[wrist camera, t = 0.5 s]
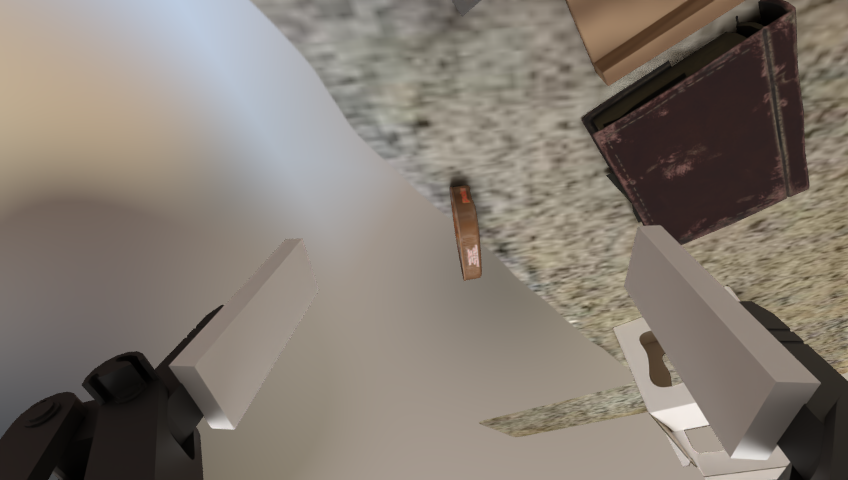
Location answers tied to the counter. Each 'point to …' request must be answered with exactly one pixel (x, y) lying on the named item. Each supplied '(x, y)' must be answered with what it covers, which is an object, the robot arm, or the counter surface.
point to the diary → (711, 130)
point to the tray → (638, 29)
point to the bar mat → (464, 6)
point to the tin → (466, 231)
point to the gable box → (684, 409)
